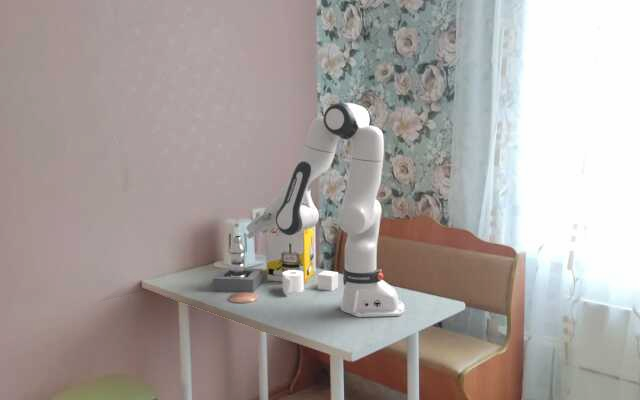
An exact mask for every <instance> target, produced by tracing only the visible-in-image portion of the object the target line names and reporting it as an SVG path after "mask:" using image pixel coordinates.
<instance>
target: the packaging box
mask: <svg viewBox="0 0 640 400" xmlns="http://www.w3.org/2000/svg"><path fill="white" fill-rule="evenodd" d="M265 249H266V250H265V252H266V254H265V255H266V257H265V258H266V281H268V282H282V273H283V272H284V271H288V270H299V271H302V272H303V281H304V284H305V283H306V282H308V281H309V279H310V278H312V276H314V274H316V272H317V268H316V267H317V266H316V263H317V262H316V259H317V257H316V225H315V226H314V227H312V228H309V229H306V230H303V231H299V232H297V233H295V234H293V235H286V234H284V233H282V232H281V231H280V230H279V228H278V226H277V227H274V228H272V229H270V230H269V231H268V232H267V233H265ZM282 283H283V282H282Z"/></svg>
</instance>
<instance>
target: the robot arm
mask: <svg viewBox="0 0 640 400" xmlns="http://www.w3.org/2000/svg"><path fill="white" fill-rule="evenodd" d="M373 120H374V119H373V114H372V112H371V111H370V109H369V108H368V107H367V106H364V105H362V104H359V103H358V104H357V103H353V102H337V103H334V104H332V105H330V106H329V107H328V108H326V110H325V112H324V115H323V116H318V117H316V118H315V119H313V121H312V122H311V125H310V127H309V130H308V133H307V136H306V138H305V142H304V145H303V148H302V149H303V150H302V153H301V155H300V159H299V161H298V163H297V165H296V167H295V168H294V171H293V173H292V176H291V180H290V181H288V182H287V183H286V184H285V185H284V186H283V187H282V188H281V189H280V190H279V191H278V194H277V195H276V196H275V197H273V198H272V199H271V200H270V202H269V203H268V204H267V205H266V206H265V207H264V211H265V213H262V214H260V215H257V216H255V218H253V220H251V221H250V222H249V224H247V226H246V230H247V232H248V233H247V234H246V237H247V238H248V239H253V237H254V236H255V235H257V234H259V233H262V234H266V233H267V232H268V231H269V230H270V229H272V228H274V227H277V226H278V228H279V230H280V231H281V232H282V233H284V234H286V235H293V234H295V233H297V232H299V231H303V230H306V229H309V228H312V227H314V226H315V227H316V226H317V225H318V223H319V219H320V213H319V210H318V208H317V206H316V205H315V204H314V201H313V198H312V196H311V195H312V194H311V188H310V184H311V183H312V182H313V181H314V180H315V179H316V178H318V177H319V176H321V175H322V174H324V173H325V172H327V171H328V170H329V169H330V167H331V165H332V163H333V161H334V159H335V158H334V157H335V154H336V151H337V146H338V145H337V144H338V142H339V140H340V138H341V139H343V140H349V141H350V144H351V149H350V150H351V152H350V158H349V166H348V167H349V168H348V175H347V176H348V178H347V183H346V188H345V191H344V195H343V199H342V203H341V207H340V211H339V213H338V216H337V222H338V223H337V224H338V225H339V227H340V229H341V230H342V231H343V232H344V233H346V234H347V237H346V242H345V244H344V268H343V272H342V281H343V292H342V293H343V294H342V298H341V303H340V306H339V308H340V310H341V311H342V312H345V313H347V314H350V315H353V316H354V317H356V318H373V317H374V318H376V317H399V316H402V315H403V314H404V313H405V304H404V303H403V302H402V301H401V300H399V296H398V295H399V294H398V292H397V290H396V289H395V288H394V287H393V286H392V285H390V284H389V283H388V282H386V281H385V280H383V279H384V274H383V271H382V269H381V268H377V257H378V256H377V255H378V254H377V252H378V251H377V250H378V249H377V248H378V240H379V233H380V226H381V225H380V224H381V216H382V210H383V209H382V205H381V203H380V201H379V200H378V199H377V196H378V195H377V194H378V192H379V190H380V185H381V183H382V174H383V173H382V172H383V165H384V156H385V155H384V154H385V153H384V152H385V141H384V134H383V131H382V130H381V129H380V128H379V127H377V126H375V125H373Z"/></svg>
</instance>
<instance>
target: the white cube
mask: <svg viewBox="0 0 640 400" xmlns="http://www.w3.org/2000/svg"><path fill="white" fill-rule="evenodd" d="M338 287H339V272H338V271H332V270H323V271H321V272H319V273H318V274H317V289H318V290H323V291H330V292H332V291H334V290H335V289H337V288H338Z"/></svg>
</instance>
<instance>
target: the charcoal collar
mask: <svg viewBox="0 0 640 400" xmlns="http://www.w3.org/2000/svg"><path fill="white" fill-rule="evenodd" d="M245 274H246V277H230V276H231V267H223V268H222V269H221V271H219V272H218V273H217V274H216V275H215V276H214V277H213V278H212V288H213V289H212V291H213V292H234V293H243V292H249V293H254V292H255V291H256V290H257V289H258V287H259V286H260V285H261V283H262V282H263V269H262V268H246V267H245Z"/></svg>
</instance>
